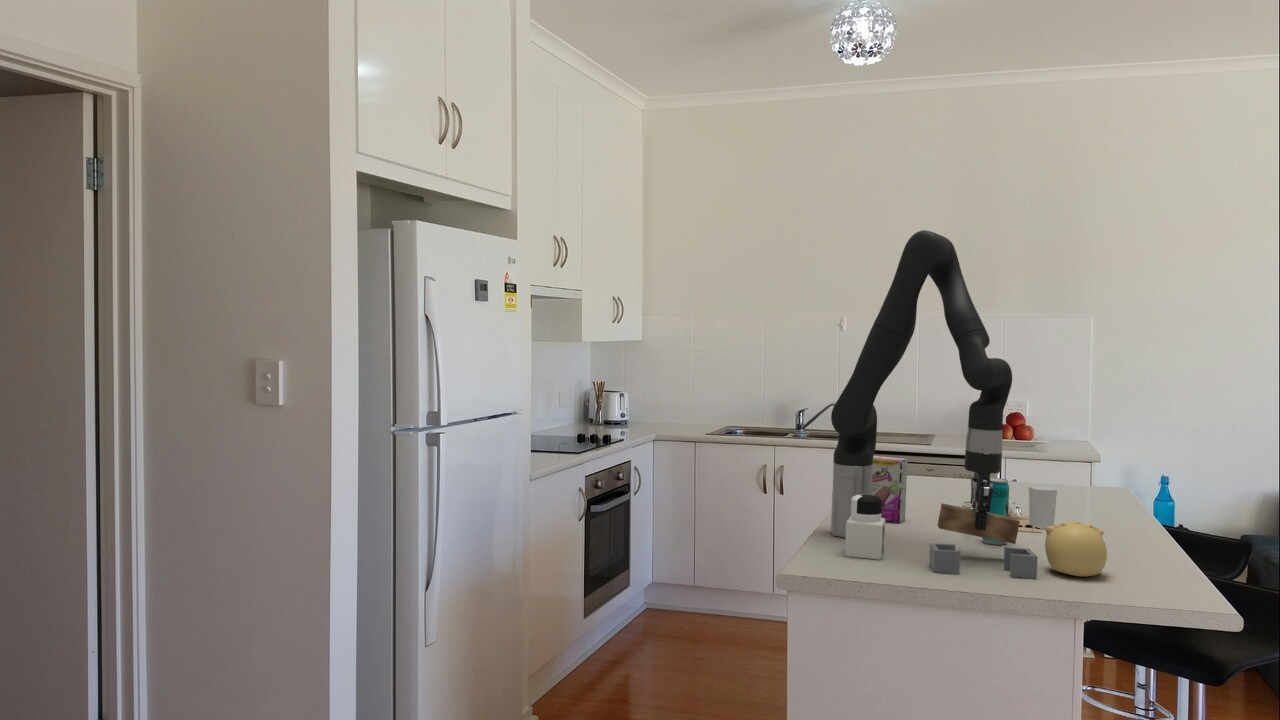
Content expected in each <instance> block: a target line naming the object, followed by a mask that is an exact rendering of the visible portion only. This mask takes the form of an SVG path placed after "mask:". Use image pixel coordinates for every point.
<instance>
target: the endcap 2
mask: <svg viewBox="0 0 1280 720" xmlns="http://www.w3.org/2000/svg"><path fill="white" fill-rule="evenodd" d="M1003 568H1004V569H1003V570H1005V571H1009V577H1010V578H1017V577H1022V578H1021V579H1034V578H1037V579H1038V555H1036V553H1035V552H1033V551H1032V549H1030V548H1026V547H1025V548H1024V547H1023V548H1022V547H1003Z"/></svg>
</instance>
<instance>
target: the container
mask: <svg viewBox="0 0 1280 720" xmlns="http://www.w3.org/2000/svg"><path fill="white" fill-rule="evenodd" d="M881 514H882V500H881V499H880V498H879V497H877V496H873V495H856V496H854V497H852V498H851V515H852V516H850V517H849V519H848V520H847V522H846V538H845V542H844V543H845V551H844V556H845V557H848V558H849V557H850V558H859V559H871V560H877V561H878V560H879V561H880V560H882V558H883V556H884V554H885V543H886V541H885V539H886V522H885V519H884V518H880V517H881Z"/></svg>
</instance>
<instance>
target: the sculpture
mask: <svg viewBox="0 0 1280 720" xmlns="http://www.w3.org/2000/svg"><path fill="white" fill-rule="evenodd" d="M1045 533H1046V536H1045V540H1044V541H1045V543H1044V550H1045V554H1046V559H1047V562H1048V564H1049V566H1050V567H1051V568H1052V569H1053V570H1054V571H1056V572H1059V573H1061V574H1065V575H1068V576H1069V575H1071V576H1075V577H1093V576H1096V575H1098V574H1100V573H1101V572H1102V571H1103V569H1104V568H1105V566H1106V563H1107V559H1108V558H1107V557H1108V550H1107V545H1106V542H1105V541H1104V539H1103V535H1104V534H1105V532H1104V530H1102V529H1100V528H1097V526H1093V525H1092V524H1088V523H1082V522H1080V521H1077V520H1070V521H1067V522H1062V523H1058V524H1054V525H1053V526H1048V527H1046V529H1045Z"/></svg>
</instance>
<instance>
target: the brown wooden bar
mask: <svg viewBox="0 0 1280 720" xmlns="http://www.w3.org/2000/svg"><path fill="white" fill-rule="evenodd" d="M940 504H941V505H940V508H939V509H940V510H939V516H938V520H937V527H938V529H939V530H944V531H951V532H954V533H960V534H963V535H964V534H965V535H969V536H974V537H979V538H982V537H983V538H988V539H993V540H998V541H1003V542H1005V543H1007V544H1008V543H1009V544H1013V545H1016V542H1017V537H1018V532H1019V528H1020V522H1021V521H1020V520H1019V519H1018V518H1017V517H1011V516H1009V515H1008V516H1003V515H998V514H993V513H987V521H986V530H976V528H975V518H976V511H975V510H973V509H974V508H966V507H963V506H956V505H951V504H947V503H940ZM983 538H982V539H983Z"/></svg>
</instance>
